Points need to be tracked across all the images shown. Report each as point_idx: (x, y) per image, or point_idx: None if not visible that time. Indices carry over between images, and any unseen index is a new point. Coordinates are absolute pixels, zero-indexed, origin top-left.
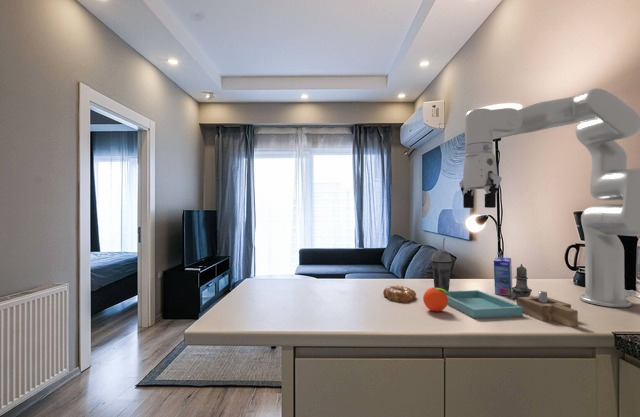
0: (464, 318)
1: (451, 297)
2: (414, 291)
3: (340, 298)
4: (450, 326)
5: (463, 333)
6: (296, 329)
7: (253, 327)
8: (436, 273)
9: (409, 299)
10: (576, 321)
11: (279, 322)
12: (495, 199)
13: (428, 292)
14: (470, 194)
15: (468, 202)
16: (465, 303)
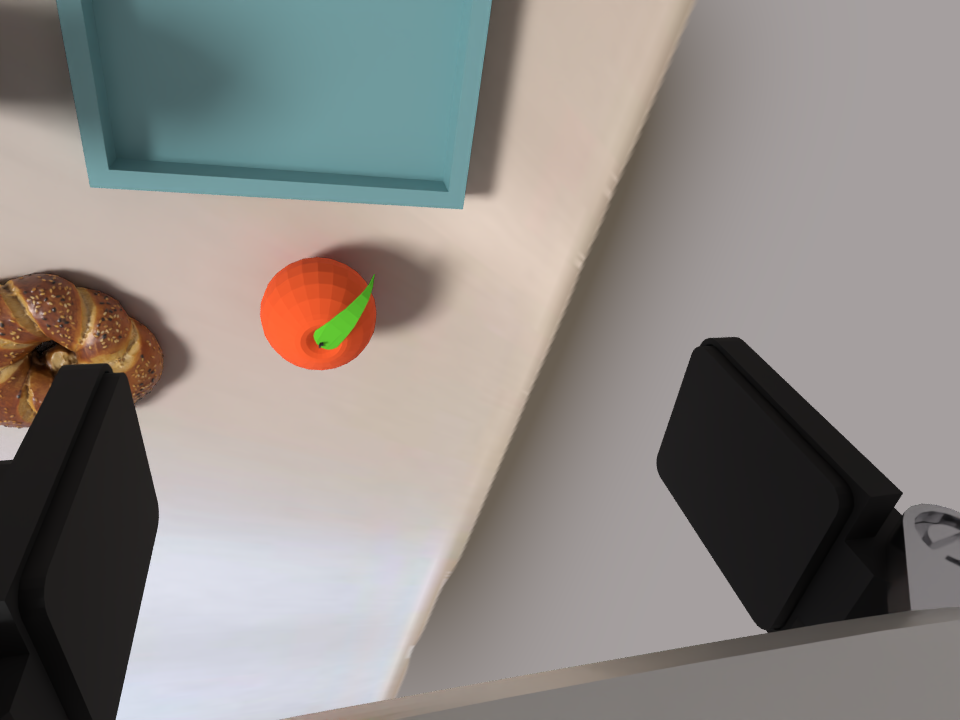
0: (437, 228)
1: (237, 180)
2: (54, 297)
3: None
4: (495, 323)
5: (559, 318)
6: (396, 647)
7: None
8: None
9: (155, 342)
10: None
11: (338, 677)
12: (816, 417)
13: (330, 368)
14: (32, 696)
15: (122, 541)
16: (248, 89)
